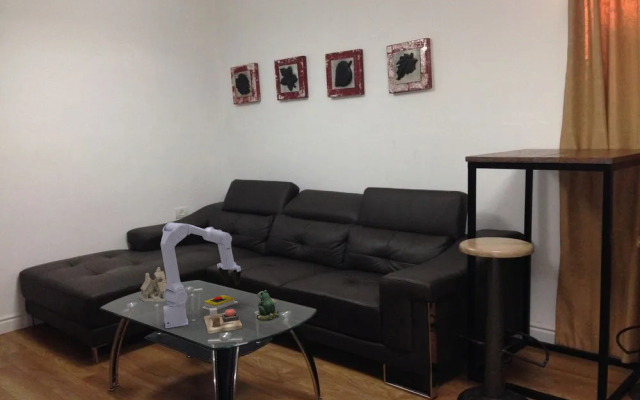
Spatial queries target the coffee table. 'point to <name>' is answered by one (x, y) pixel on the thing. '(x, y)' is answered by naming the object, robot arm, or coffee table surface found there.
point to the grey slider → (213, 312)
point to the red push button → (229, 312)
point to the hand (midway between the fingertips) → (232, 283)
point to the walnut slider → (216, 320)
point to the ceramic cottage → (154, 287)
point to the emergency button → (219, 302)
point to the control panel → (223, 323)
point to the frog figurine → (266, 307)
